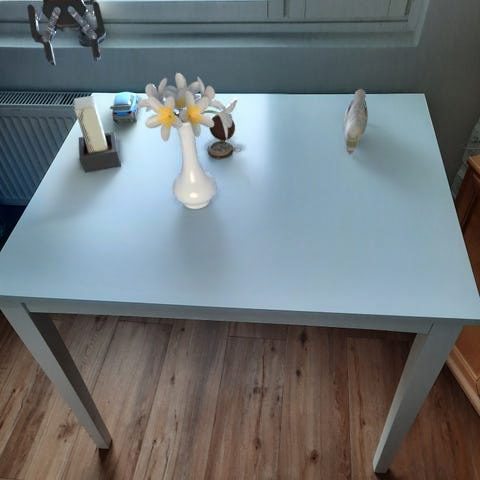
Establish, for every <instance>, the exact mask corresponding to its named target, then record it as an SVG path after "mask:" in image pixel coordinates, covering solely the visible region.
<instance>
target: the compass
mask: <svg viewBox="0 0 480 480" xmlns="http://www.w3.org/2000/svg"><path fill="white" fill-rule="evenodd" d="M211 119H212V120H213V122H214V126H213V127H211V128H210V127H208V129H209V132H210V134H211V135H212V137H213V138H215V139H216V140H219V141H214V142H213V143H211V144H209V146H208V147H207V148H206V150H207V154H208V156H209V157H211V158H212V159H216V160H224V159H227V158H229V157H230V156H232V155H233V153H236V152H237V153H240V152H241V151H242V148H241V147H234V146H233V144H232V143H230V142H227V141H229V140H230V139H231V138H233V136H234V135H235V132H236V124H235V120H233V119H232V126H231V127H229V128H228V137H227V140H226V135H225V131H224V127H223V124H222V121H221V118H220V116H219V115H217V114H214V115H213V116H212V117H211ZM237 149H239V150H238V151H237Z"/></svg>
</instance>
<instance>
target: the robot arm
mask: <svg viewBox="0 0 480 480" xmlns="http://www.w3.org/2000/svg"><path fill="white" fill-rule="evenodd" d="M26 9H27V15H28V20H29V27H30V34H31V37H32V39H33V42H35V43H37V44H38V43H39V44H42V45H43V49H44V54H45V59H46V60H47V62H48V63H50V65H51V66H56V59H55V55H54V50H53V46H52V41H53V39H54V37H55V36H56V34H57V32H58V31H60V32H61V33H62V32H63V33H64V32H68V31H72V32H78V30H81V31H82V32H83V33H84V34H85V36H87V37H88V38H89V39H90V46H91V52H92V57H93V61H94V64H95V63H99V60H101V52H100V46H99V41H100V40H103V39H106V38H107V34H106V28H105V25H104V21H103V16H102V12H101V11H102V10H101V7H100V4H99V2H98V1H94V2H92V3H89V4H85V3H84V0H42V6H34V5H32V4H27V8H26ZM87 13H89V14H90V16H91V17H92V18H95V20H96V25H97V29H98V30H97V31H94V30H93V29H92V27H91V26H90V25H89V24H88V22H87V21H86V20H85V18H86V16H87ZM42 16H45V18H46V19H47V20H48V22H47V24H46V27H45V29H44V30H45V31H44V32H43V34H40V29H39V22H38V21H40V20H41V17H42Z"/></svg>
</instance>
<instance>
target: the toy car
mask: <svg viewBox="0 0 480 480" xmlns="http://www.w3.org/2000/svg"><path fill="white" fill-rule="evenodd" d="M139 102H140V100H139V98H138V95H137V94H136V93H134V92H129V91H123V92H118V93H116V94H115V97H114V102H113V105H111V106H110V107H109V109H110V110H112V111H111V112H112V114H111V115H112V121H113V122H114V124H119V123H120V122H121V121H132V122H133V123H137V122H138V109H139V108H136V105H137V104H138V103H139Z"/></svg>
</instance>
